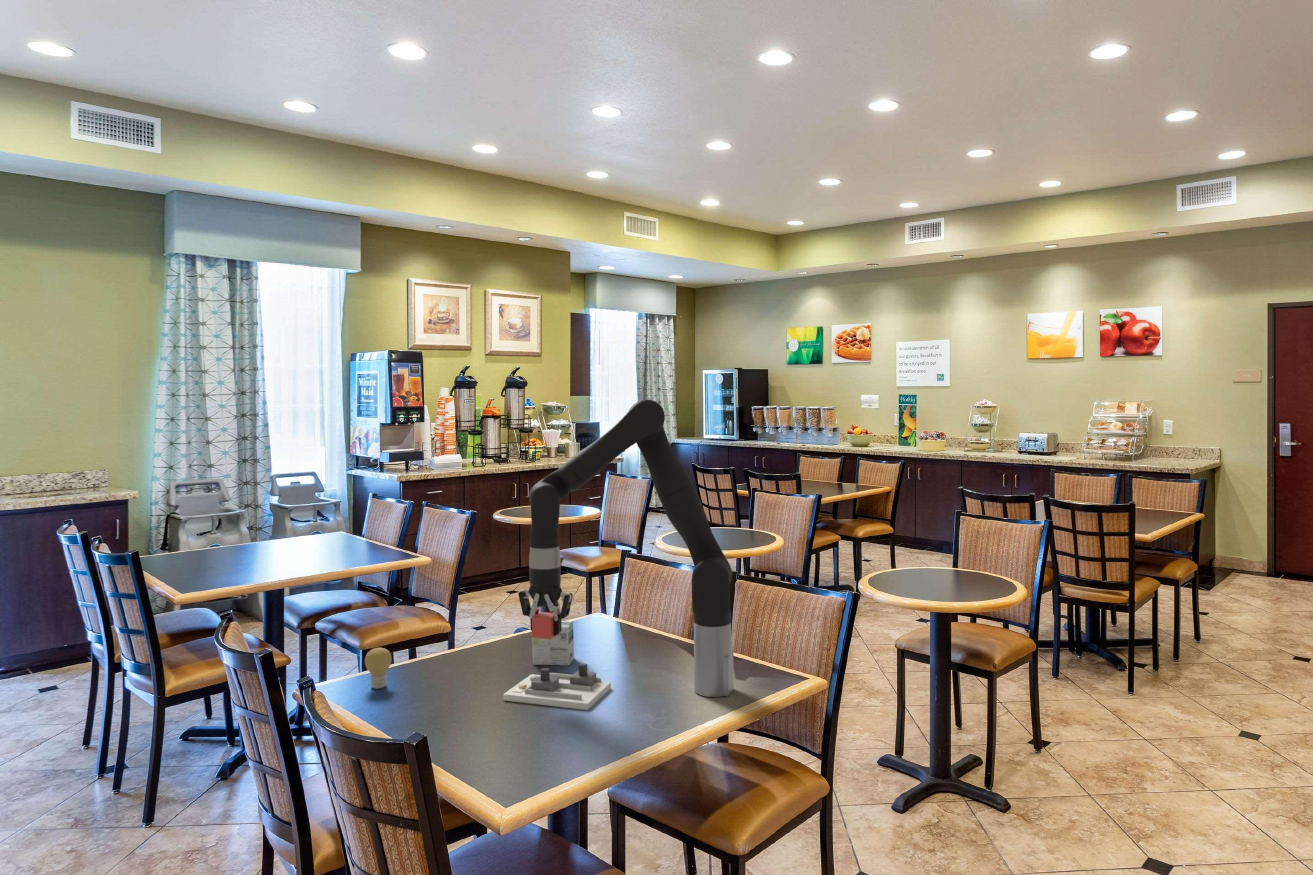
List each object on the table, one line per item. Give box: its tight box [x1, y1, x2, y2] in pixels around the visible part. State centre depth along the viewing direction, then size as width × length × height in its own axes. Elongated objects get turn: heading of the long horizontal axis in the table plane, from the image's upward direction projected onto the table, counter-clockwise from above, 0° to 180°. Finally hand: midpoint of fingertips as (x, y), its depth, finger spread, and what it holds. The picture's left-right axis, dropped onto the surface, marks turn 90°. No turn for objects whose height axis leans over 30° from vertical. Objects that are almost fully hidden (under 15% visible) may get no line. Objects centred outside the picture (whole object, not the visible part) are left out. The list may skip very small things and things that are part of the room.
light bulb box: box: [531, 620, 575, 666], centre depth 223 cm, size 11×7×11 cm, turn 84°
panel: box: [502, 662, 612, 711], centre depth 198 cm, size 22×15×7 cm
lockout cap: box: [531, 611, 560, 639], centre depth 196 cm, size 5×5×5 cm
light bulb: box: [364, 647, 393, 690], centre depth 204 cm, size 6×6×10 cm
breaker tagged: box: [531, 667, 559, 692], centre depth 197 cm, size 5×5×5 cm
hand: (545, 633), depth 196 cm, fingers closed on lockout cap, 5 cm apart
